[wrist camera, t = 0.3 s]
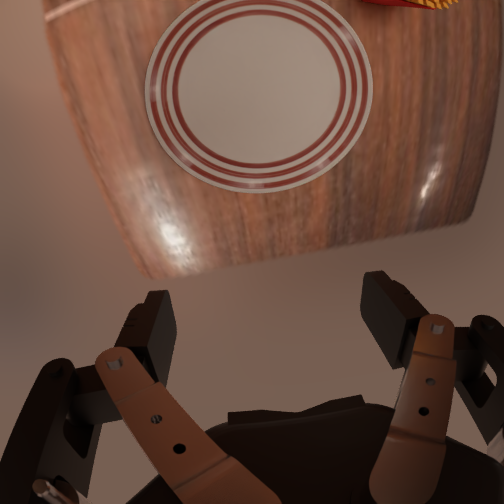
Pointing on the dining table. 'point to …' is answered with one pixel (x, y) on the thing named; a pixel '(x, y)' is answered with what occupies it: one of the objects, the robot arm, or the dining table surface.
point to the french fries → (415, 3)
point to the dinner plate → (258, 92)
